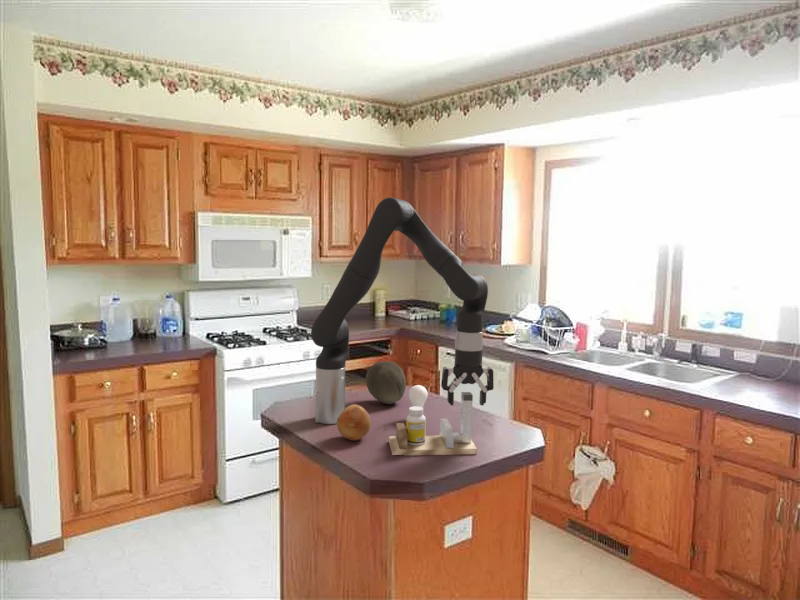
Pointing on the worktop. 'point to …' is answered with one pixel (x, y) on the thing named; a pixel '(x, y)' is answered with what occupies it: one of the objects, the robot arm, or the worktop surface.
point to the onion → (354, 422)
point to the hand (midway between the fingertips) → (466, 404)
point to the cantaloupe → (386, 381)
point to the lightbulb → (418, 395)
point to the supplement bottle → (416, 426)
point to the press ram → (465, 427)
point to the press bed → (426, 445)
